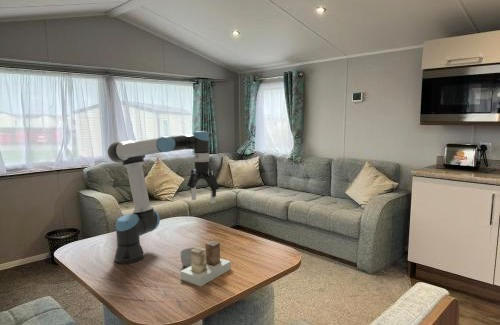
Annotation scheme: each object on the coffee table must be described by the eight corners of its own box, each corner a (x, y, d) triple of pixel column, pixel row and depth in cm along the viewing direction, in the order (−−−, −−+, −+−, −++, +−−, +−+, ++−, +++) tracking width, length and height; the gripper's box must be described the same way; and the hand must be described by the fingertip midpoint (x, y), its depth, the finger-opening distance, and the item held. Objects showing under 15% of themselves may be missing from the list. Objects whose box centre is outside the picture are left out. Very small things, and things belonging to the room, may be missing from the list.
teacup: (181, 271, 168) (181, 255, 167) (180, 262, 179) (179, 248, 178) (209, 267, 172) (208, 252, 171) (206, 259, 182) (205, 245, 181)
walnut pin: (206, 268, 168) (205, 243, 166) (212, 265, 172) (212, 240, 170) (213, 271, 165) (213, 245, 164) (220, 267, 169) (219, 242, 168)
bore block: (180, 279, 159) (180, 271, 159) (211, 263, 177) (211, 255, 177) (200, 286, 152) (200, 278, 151) (231, 268, 170) (230, 261, 169)
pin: (199, 272, 164) (198, 246, 162) (206, 275, 161) (205, 249, 159) (191, 276, 160) (190, 250, 158) (199, 279, 157) (198, 252, 155)
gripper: (179, 160, 177) (181, 199, 180) (215, 163, 163) (216, 205, 166) (189, 159, 184) (191, 197, 186) (225, 161, 169) (226, 202, 172)
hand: (203, 201), depth 176 cm, fingers open, 13 cm apart
